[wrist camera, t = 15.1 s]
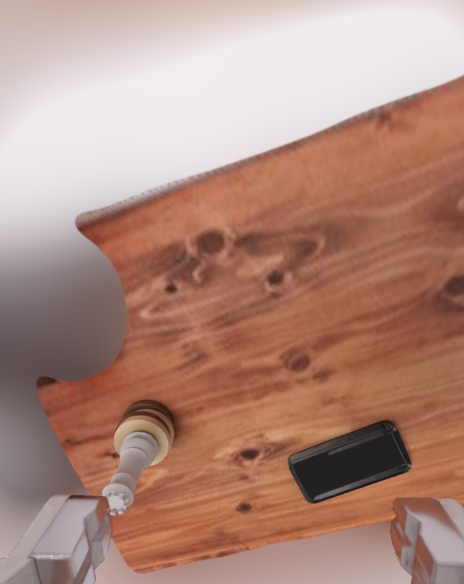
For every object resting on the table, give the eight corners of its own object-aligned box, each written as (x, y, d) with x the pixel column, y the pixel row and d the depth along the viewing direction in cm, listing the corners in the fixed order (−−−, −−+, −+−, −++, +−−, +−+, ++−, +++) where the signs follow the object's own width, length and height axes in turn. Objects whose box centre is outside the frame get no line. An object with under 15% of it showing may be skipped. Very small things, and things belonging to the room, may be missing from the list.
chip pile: (186, 416, 39) (180, 435, 36) (162, 455, 41) (155, 477, 37) (136, 391, 38) (125, 408, 35) (114, 432, 40) (101, 452, 37)
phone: (414, 469, 38) (309, 505, 40) (409, 462, 39) (307, 498, 41) (394, 423, 37) (286, 463, 39) (390, 417, 38) (284, 456, 40)
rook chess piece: (152, 463, 37) (128, 528, 29) (119, 451, 37) (86, 513, 29) (164, 436, 36) (142, 496, 28) (130, 424, 35) (98, 481, 28)
